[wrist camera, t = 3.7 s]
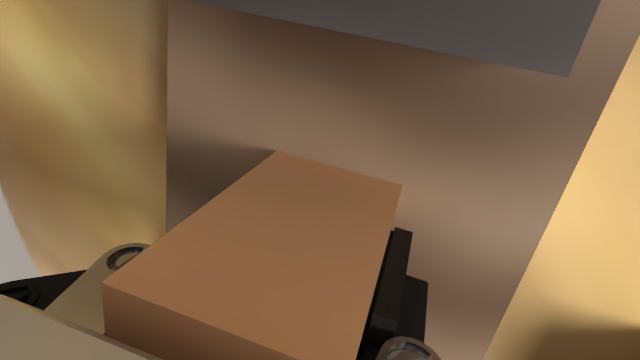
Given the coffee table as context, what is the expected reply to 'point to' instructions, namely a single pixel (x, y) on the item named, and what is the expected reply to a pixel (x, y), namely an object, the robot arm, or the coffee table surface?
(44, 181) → the coffee table surface
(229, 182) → the slide board
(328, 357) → the light orange block
